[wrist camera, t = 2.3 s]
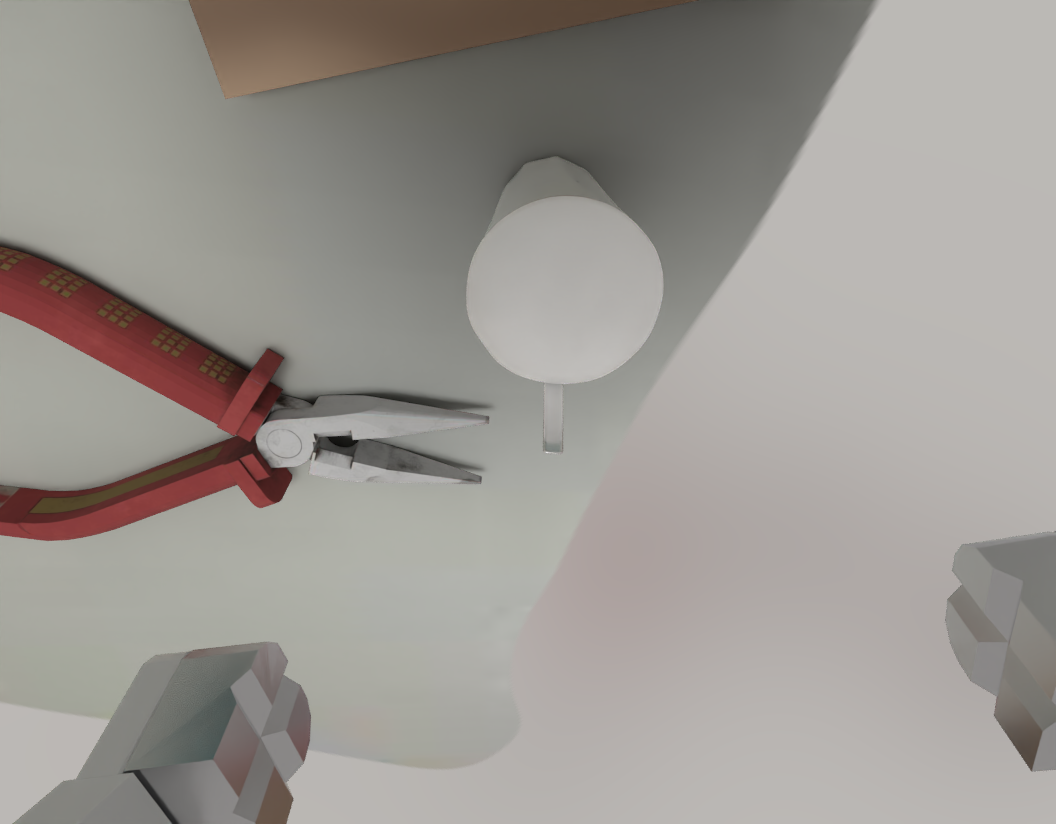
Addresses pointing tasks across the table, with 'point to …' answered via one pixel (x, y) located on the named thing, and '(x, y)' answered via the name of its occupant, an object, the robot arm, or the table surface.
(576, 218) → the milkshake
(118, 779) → the robot arm
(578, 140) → the table surface
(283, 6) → the wooden frame
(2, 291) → the pliers
